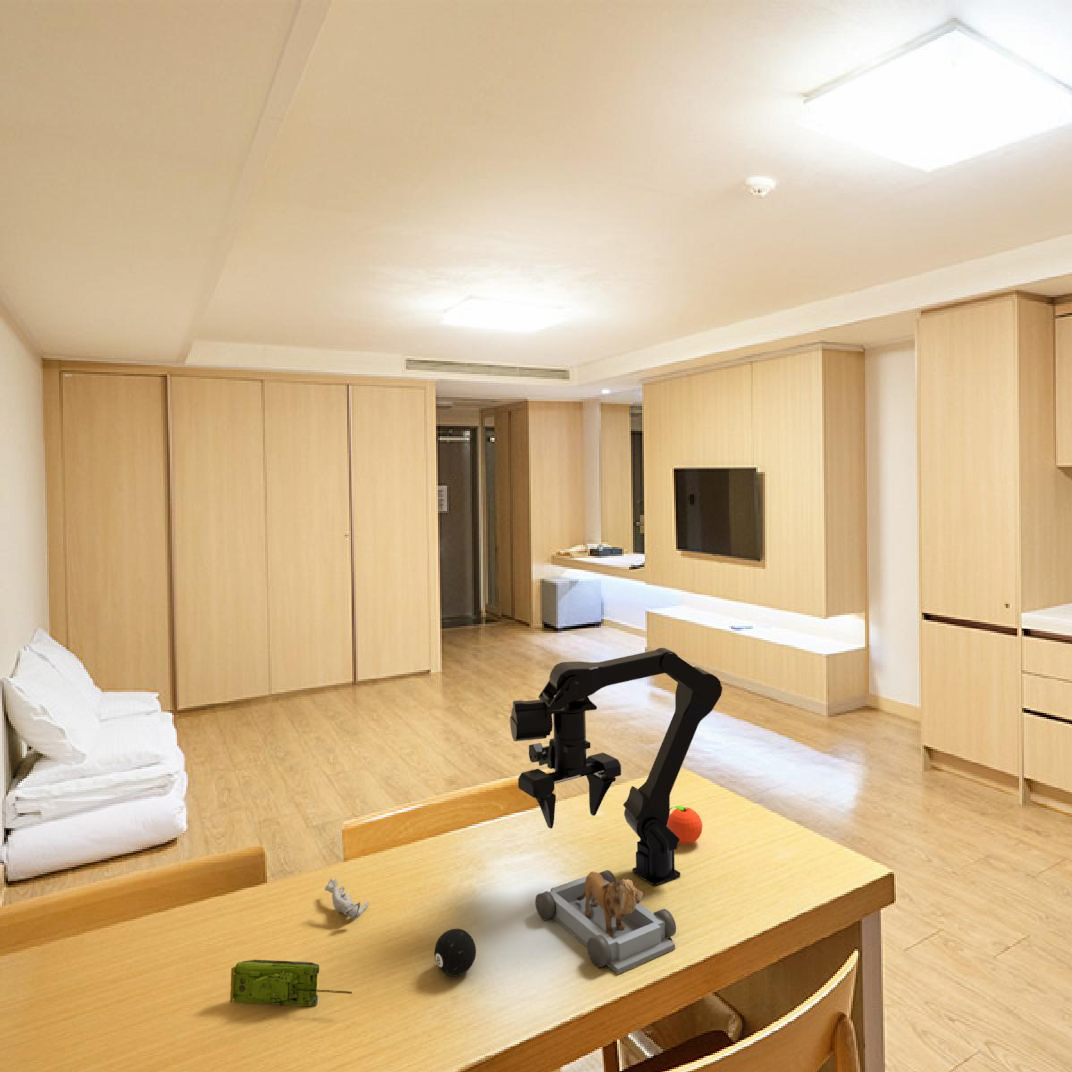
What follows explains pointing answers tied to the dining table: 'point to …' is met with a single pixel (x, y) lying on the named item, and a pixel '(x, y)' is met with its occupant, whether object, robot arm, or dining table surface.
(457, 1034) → the dining table surface
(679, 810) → the clementine
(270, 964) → the toy tank
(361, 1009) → the dining table surface
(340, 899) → the grey irregular piece
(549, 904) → the chassis
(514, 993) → the dining table surface
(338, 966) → the dining table surface
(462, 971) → the billiard ball
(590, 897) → the lion figurine
